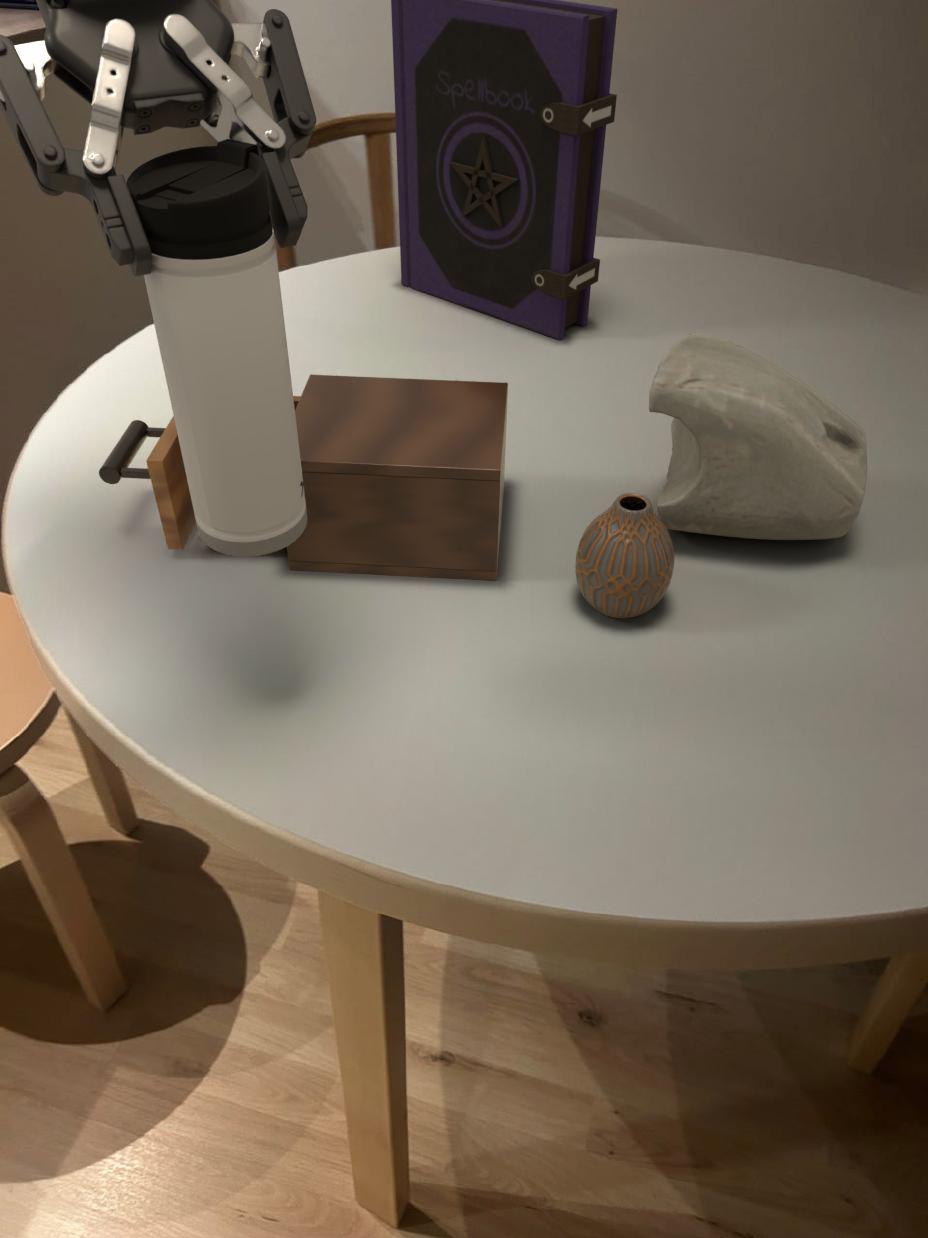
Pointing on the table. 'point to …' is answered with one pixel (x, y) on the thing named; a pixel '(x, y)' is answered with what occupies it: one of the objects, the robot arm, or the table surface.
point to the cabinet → (401, 476)
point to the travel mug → (224, 342)
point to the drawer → (158, 476)
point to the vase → (625, 558)
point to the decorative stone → (754, 447)
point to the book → (502, 153)
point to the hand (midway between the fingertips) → (219, 252)
